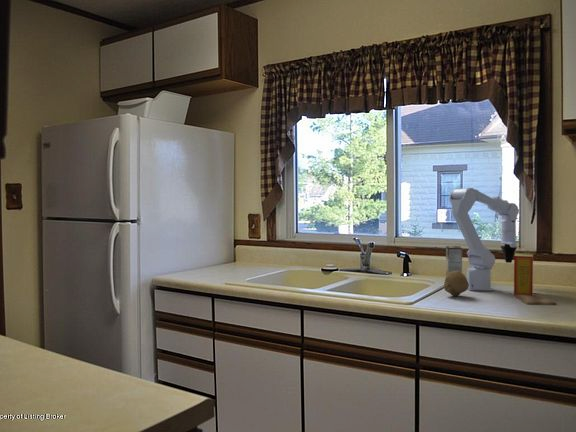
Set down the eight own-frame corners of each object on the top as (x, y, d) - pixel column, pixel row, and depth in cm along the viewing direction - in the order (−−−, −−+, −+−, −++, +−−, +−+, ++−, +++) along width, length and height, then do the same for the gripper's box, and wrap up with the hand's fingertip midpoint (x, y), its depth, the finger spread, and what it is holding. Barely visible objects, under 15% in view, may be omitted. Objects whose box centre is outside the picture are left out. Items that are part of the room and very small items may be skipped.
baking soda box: (532, 296, 196) (532, 255, 195) (514, 295, 199) (514, 254, 198) (532, 292, 204) (533, 253, 204) (515, 291, 207) (515, 252, 206)
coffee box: (445, 280, 236) (445, 245, 236) (459, 280, 235) (459, 245, 234) (447, 283, 227) (447, 247, 227) (462, 283, 226) (462, 247, 225)
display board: (526, 304, 182) (526, 302, 182) (514, 296, 196) (514, 294, 196) (556, 304, 181) (556, 302, 181) (542, 297, 195) (542, 295, 195)
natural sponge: (473, 296, 198) (473, 270, 197) (461, 299, 192) (461, 273, 192) (452, 293, 205) (452, 268, 204) (440, 296, 199) (440, 270, 198)
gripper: (523, 232, 209) (523, 264, 210) (513, 229, 224) (513, 260, 224) (505, 232, 210) (506, 264, 211) (496, 229, 225) (496, 260, 225)
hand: (508, 262), depth 218 cm, fingers closed
